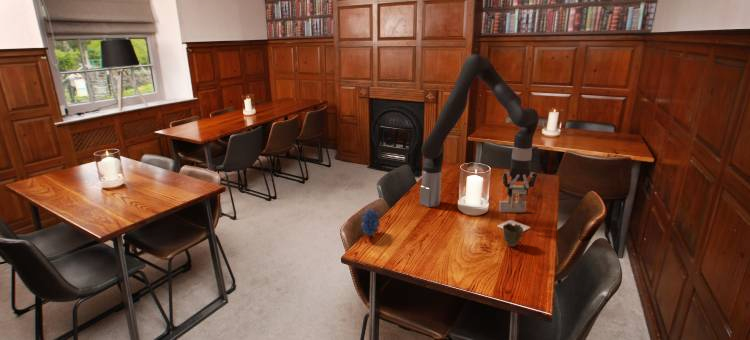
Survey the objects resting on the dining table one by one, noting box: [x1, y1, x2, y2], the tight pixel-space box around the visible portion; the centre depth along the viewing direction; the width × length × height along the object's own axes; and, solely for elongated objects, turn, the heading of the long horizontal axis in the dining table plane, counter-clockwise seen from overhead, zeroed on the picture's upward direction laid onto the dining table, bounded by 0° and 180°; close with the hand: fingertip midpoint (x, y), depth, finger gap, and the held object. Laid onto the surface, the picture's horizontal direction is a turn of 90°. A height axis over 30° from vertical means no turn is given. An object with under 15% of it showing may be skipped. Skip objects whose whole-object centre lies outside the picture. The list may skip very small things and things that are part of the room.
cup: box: [502, 223, 524, 248], centre depth 156 cm, size 8×7×8 cm
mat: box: [496, 219, 531, 233], centre depth 173 cm, size 10×10×1 cm
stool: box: [507, 185, 527, 208], centre depth 169 cm, size 10×6×10 cm
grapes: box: [360, 208, 381, 237], centre depth 164 cm, size 12×7×12 cm, turn 145°
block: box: [498, 200, 527, 213], centre depth 188 cm, size 2×12×5 cm, turn 89°
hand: (517, 195), depth 169 cm, fingers closed on stool, 5 cm apart
